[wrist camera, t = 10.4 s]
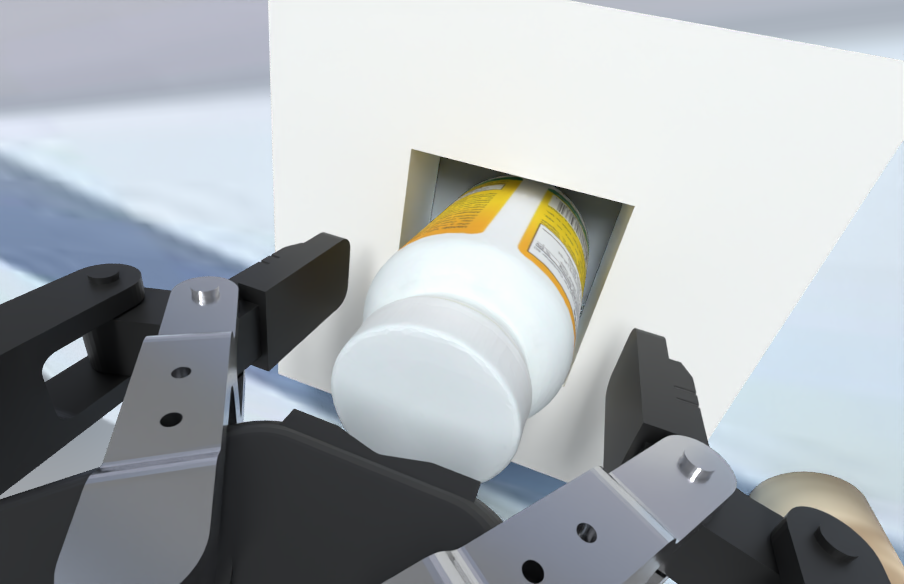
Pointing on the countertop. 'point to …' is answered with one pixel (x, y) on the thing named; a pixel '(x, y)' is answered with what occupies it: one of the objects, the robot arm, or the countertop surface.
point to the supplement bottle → (468, 329)
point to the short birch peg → (831, 509)
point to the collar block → (583, 168)
